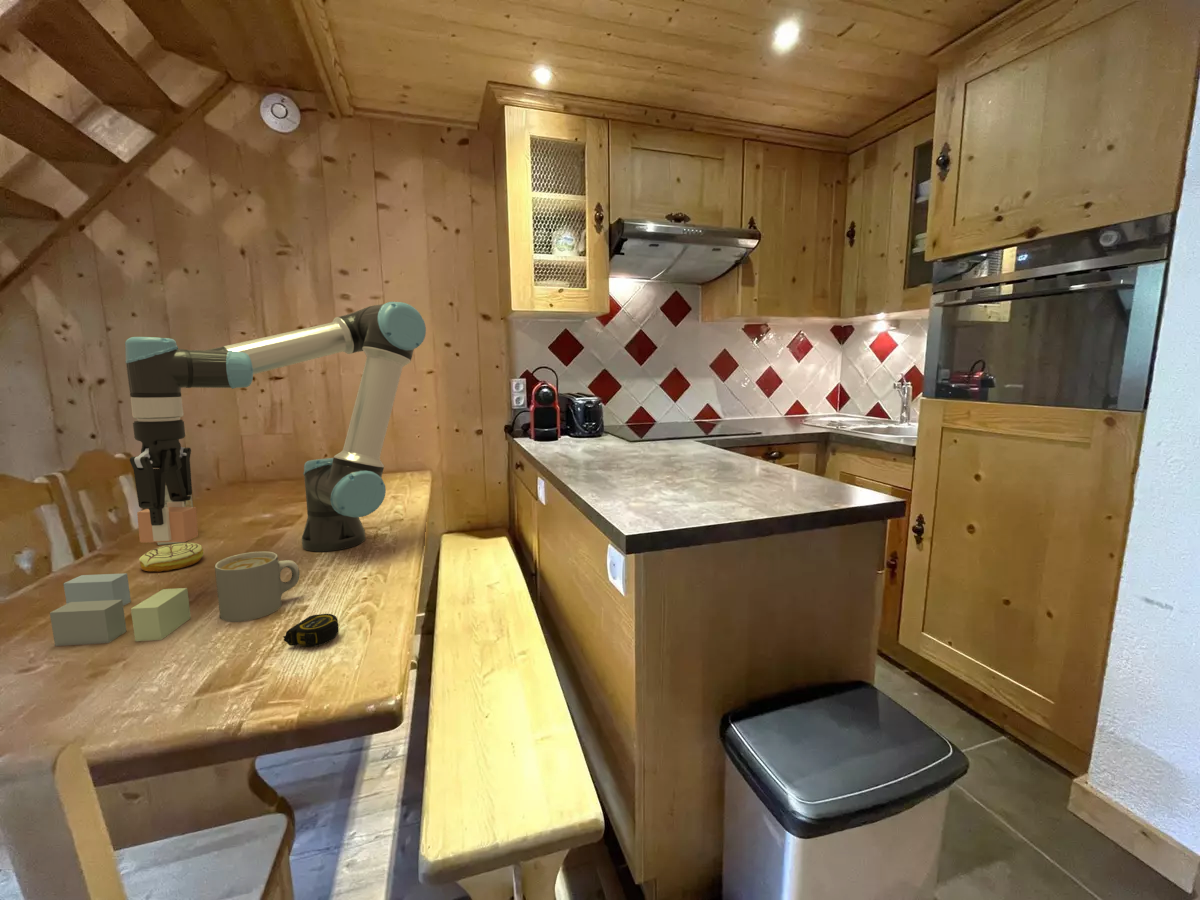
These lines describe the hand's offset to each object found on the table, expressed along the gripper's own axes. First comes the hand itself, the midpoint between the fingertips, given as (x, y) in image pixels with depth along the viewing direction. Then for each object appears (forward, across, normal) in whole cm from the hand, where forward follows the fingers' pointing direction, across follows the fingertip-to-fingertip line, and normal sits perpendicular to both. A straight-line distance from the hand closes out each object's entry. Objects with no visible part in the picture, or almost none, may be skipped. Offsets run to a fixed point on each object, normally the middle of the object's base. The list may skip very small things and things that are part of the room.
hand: (170, 536), depth 103 cm
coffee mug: (+13, +6, +19) cm, 24 cm away
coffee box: (+13, -40, -25) cm, 49 cm away
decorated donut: (+13, -20, -13) cm, 28 cm away
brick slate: (+13, +15, -4) cm, 21 cm away
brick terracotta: (+1, 0, 0) cm, 1 cm away
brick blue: (+13, +2, -12) cm, 18 cm away
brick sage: (+13, +13, +6) cm, 20 cm away
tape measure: (+13, +21, +34) cm, 42 cm away
